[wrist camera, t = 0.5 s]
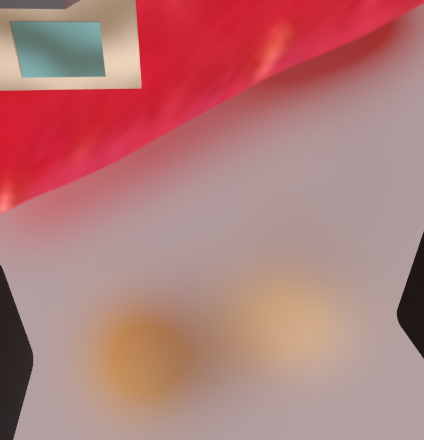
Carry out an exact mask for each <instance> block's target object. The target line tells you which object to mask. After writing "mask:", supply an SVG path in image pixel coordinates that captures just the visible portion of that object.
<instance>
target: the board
mask: <svg viewBox="0 0 424 440" xmlns="http://www.w3.org/2000/svg"><path fill="white" fill-rule="evenodd" d="M130 88H141V72H140V58H139V43H138V29H137V15H136V1H135V0H80V1H78V2H77V3H75V4H73V5H72V6H70V7H68V8H67V9H0V91H3V90H66V89H130Z"/></svg>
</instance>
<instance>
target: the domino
mask: <svg viewBox="0 0 424 440" xmlns="http://www.w3.org/2000/svg"><path fill="white" fill-rule="evenodd" d="M78 1H80V0H0V9H67V8H68V7H70V6H72V5H73V4H75V3H77V2H78Z"/></svg>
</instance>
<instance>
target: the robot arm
mask: <svg viewBox="0 0 424 440" xmlns="http://www.w3.org/2000/svg"><path fill="white" fill-rule="evenodd" d="M397 318H398V322H399V324H400V326H401V327H402V329H403V330H404V331H405V333H406V334H407V336H408V337H409V339H410V340H411V341H412V343H413V344H414V346H415V347H416V348H417V349H418V351H419V353H420V354H421V355H422V357H423V358H424V233H423V235H422V238H421V241H420V244H419V247H418V250H417V253H416V256H415V259H414V262H413V265H412V268H411V271H410V274H409V277H408V280H407V283H406V286H405V288H404V291H403V294H402V297H401V300H400V303H399V306H398V309H397ZM32 367H33V353H32V349H31V346H30V344H29V341H28V338H27V335H26V332H25V330H24V327H23V324H22V321H21V319H20V316H19V313H18V310H17V307H16V305H15V302H14V299H13V296H12V293H11V291H10V288H9V285H8V282H7V280H6V277H5V274H4V271H3V269H2V267H1V265H0V440H13V438H14V434H15V431H16V427H17V423H18V419H19V416H20V412H21V408H22V405H23V401H24V397H25V394H26V390H27V386H28V383H29V379H30V375H31V372H32Z"/></svg>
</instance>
